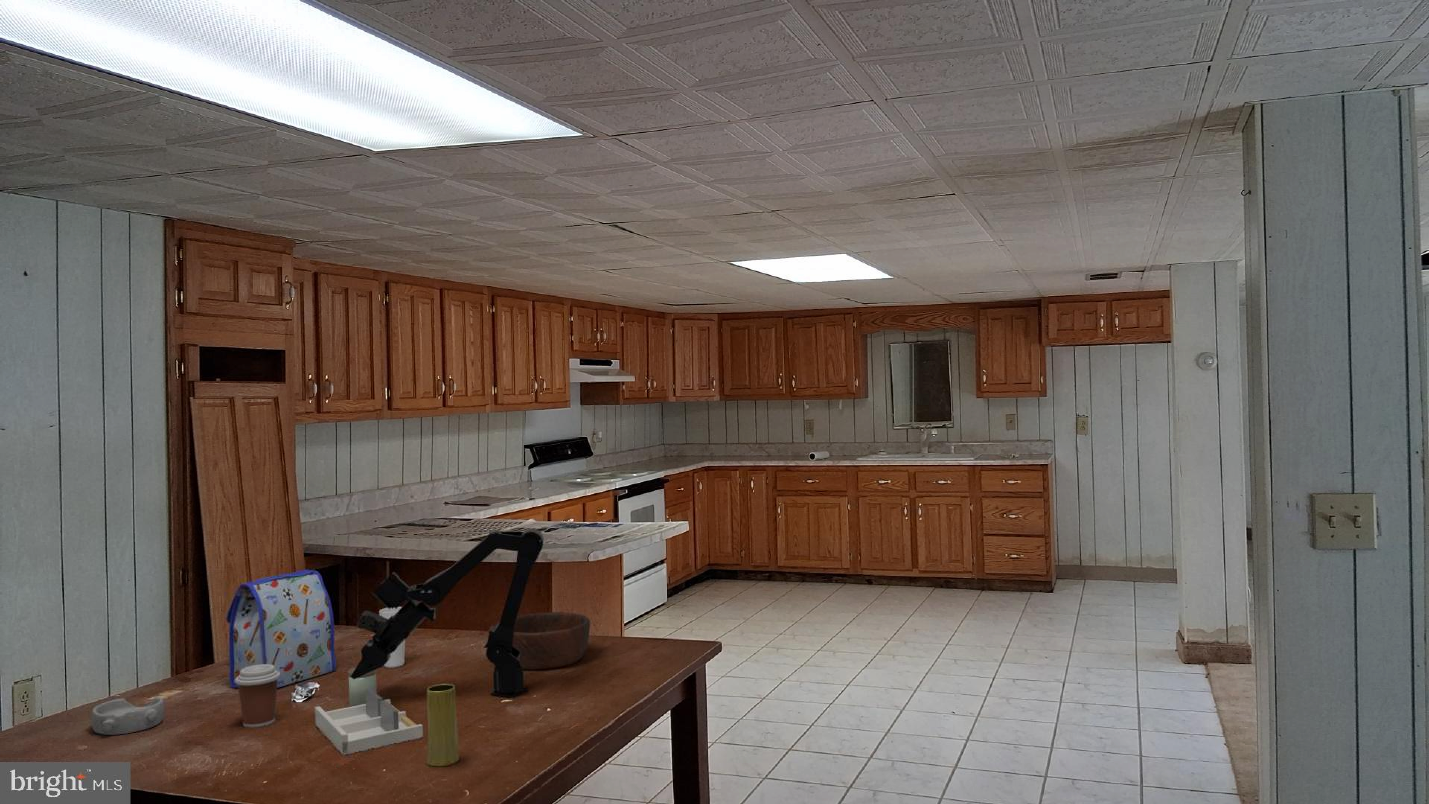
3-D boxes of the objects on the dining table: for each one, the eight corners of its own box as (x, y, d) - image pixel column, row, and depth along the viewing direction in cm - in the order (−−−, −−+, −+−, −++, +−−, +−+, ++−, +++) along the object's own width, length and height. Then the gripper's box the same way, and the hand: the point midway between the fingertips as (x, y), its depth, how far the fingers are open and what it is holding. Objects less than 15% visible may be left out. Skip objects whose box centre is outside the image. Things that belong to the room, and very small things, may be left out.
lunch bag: (297, 664, 263) (294, 565, 263) (341, 670, 255) (338, 569, 255) (221, 688, 242) (217, 581, 242) (266, 695, 235) (263, 585, 235)
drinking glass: (399, 669, 254) (397, 612, 254) (375, 668, 256) (373, 612, 256) (412, 662, 261) (410, 606, 261) (389, 661, 262) (387, 606, 262)
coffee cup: (291, 717, 218) (289, 664, 217) (259, 731, 209) (257, 675, 209) (258, 714, 220) (257, 661, 220) (226, 727, 212) (224, 672, 212)
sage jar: (382, 701, 228) (381, 667, 228) (362, 708, 222) (361, 674, 222) (363, 698, 230) (362, 664, 230) (343, 705, 225) (342, 671, 225)
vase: (430, 756, 191) (428, 683, 191) (462, 754, 191) (459, 682, 191) (423, 768, 185) (421, 693, 185) (456, 766, 185) (454, 691, 185)
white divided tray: (389, 710, 221) (388, 683, 221) (422, 737, 202) (421, 708, 202) (315, 725, 211) (314, 697, 211) (343, 755, 193) (342, 724, 193)
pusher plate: (370, 712, 217) (370, 688, 217) (383, 723, 209) (382, 698, 209) (366, 713, 216) (365, 689, 216) (378, 724, 209) (377, 699, 209)
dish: (97, 722, 219) (97, 700, 219) (168, 712, 224) (167, 691, 224) (85, 742, 205) (84, 719, 205) (159, 732, 211) (159, 709, 211)
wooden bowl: (545, 644, 277) (543, 608, 277) (610, 655, 262) (609, 617, 262) (476, 665, 257) (475, 626, 257) (543, 679, 242) (541, 638, 242)
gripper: (386, 591, 236) (340, 639, 234) (370, 607, 217) (320, 660, 216) (420, 622, 237) (374, 670, 236) (407, 640, 219) (357, 692, 217)
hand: (356, 672), depth 226 cm, fingers open, 9 cm apart
